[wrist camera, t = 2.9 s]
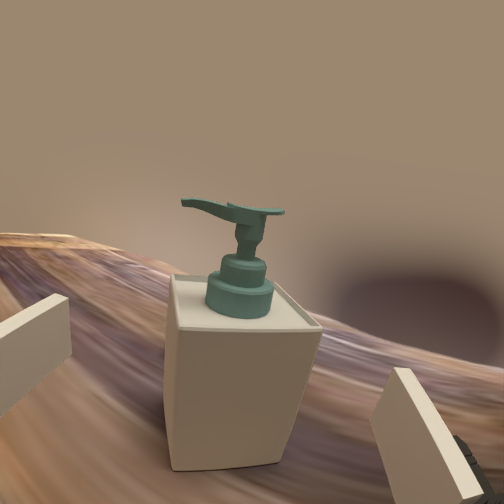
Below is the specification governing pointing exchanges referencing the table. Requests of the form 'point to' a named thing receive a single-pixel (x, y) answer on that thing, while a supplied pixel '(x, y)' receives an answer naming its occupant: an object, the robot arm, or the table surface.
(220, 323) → the soap bottle
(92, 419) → the table surface
